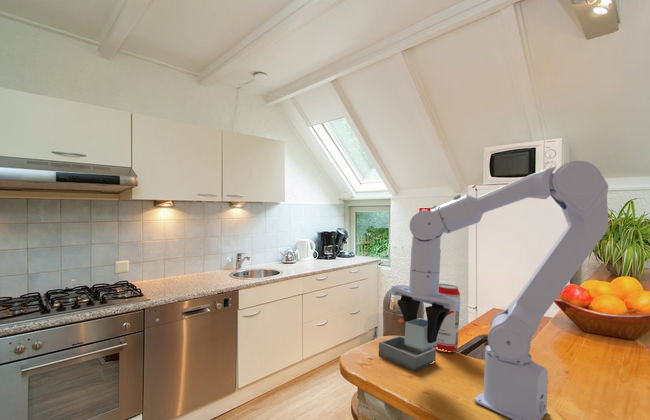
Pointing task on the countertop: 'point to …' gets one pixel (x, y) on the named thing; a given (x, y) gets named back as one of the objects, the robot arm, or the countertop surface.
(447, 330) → the beer can
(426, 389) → the countertop surface
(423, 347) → the small crate
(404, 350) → the box
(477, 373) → the countertop surface
